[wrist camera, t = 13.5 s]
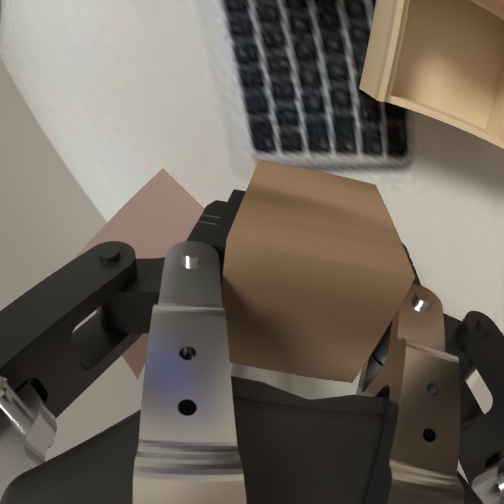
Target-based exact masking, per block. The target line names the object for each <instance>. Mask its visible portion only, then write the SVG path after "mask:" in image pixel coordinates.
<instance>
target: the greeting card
mask: <svg viewBox="0 0 504 504" xmlns="http://www.w3.org/2000/svg"><path fill="white" fill-rule="evenodd" d="M203 211H204V208H203V207H202V206H201V205H200V204H199V203H198V202H197V201H196V200H195V199H194V198H193V197H192V196H191V195H190V194H189V193H187V192H186V191H185V190H184V189H183V188H182V187H181V186H180V185H179V184H178V183H177V182H176V181H175V180H174V179H173V178H172V177H171V176H170V175H169V174H168V173H167V172H166V171H165V170H164V169H162V170H161V171H160V172H158V173H157V174H156V175H155V176H154V177H153V178H152V179H151V180H150V181H149V182H148V183H147V184H146V185H145V186H144V187H143V188H142V189H141V190H140V191H138V192H137V193H136V194H135V195H134V196H133V197H132V198H131V199H130V200H129V201H128V202H127V203H126V204H125V205H124V206H123V207H122V208H121V209H120V210H119V211H118V212H117V213H116V215H115V216H114V217H113V218H112V219H111V220H110V221H109V222H108V223H107V224H106V225H105V226H104V227H103V228H102V229H101V230H100V231H99V233H98V234H97V235H96V236H95V237H94V238H93V239H92V240H91V241H90V242H89V243H88V244H87V245H86V247H85V248H84V249H83V250H82V251H81V252H80V253H79V255H78V256H80V255H81V254H83V253H84V252H86V251H88V250H89V249H91V248H92V247H94V246H96V245H98V244H100V243H103V242H108V241H120V242H124V243H127V244H129V245H130V246H131V247H133V249H134V250H135V254H136V259H138V258H162V257H165V256H166V252H167V251H168V249H169V248H170V247H172V246H173V245H175V244H177V243H180V242H185V241H186V240H187V238H188V236H189V235H190V233H191V231H192V230H193V228H194V226H195V224H196V223H197V222H198V219H199V218H200V216H201V215H202V213H203ZM78 256H77V257H78ZM77 257H76V258H77ZM95 312H96V313H97V309H96V310H95ZM148 339H149V334H142V335H141V337H140V338H139V339H138V340H137V341H136V342H135V343H134V344H133V345H131V346H130V347H129V348H128V349H127V350H126V351H125V352H124V353H123V354H122V357H123V359H124V360H125V362H126V363H127V365H128V366H129V368H130V369H131V371H132V372H133V374H134V375H135V377H136V378H137V379H138V378H139V376H140V373H141V371H142V369H143V367H144V364H145V362H146V355H147V346H148Z"/></svg>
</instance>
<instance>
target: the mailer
mask: <svg viewBox="0 0 504 504" xmlns="http://www.w3.org/2000/svg"><path fill="white" fill-rule="evenodd" d="M359 89H361V90H362V91H364V92H365V93H367V94H368V95H370V96H371V97H373V98H374V99H376V100H377V101H381V102H384V101H385V102H388V103H391V104H394V105H398V106H401V107H404V108H407V109H410V110H412V111H415V112H418V113H421V114H424V115H426V116H429V117H432V118H435V119H437V120H440V121H442V122H445V123H447V124H450V125H452V126H455V127H457V128H459V129H462V130H464V131H466V132H469V133H471V134H473V135H476V136H478V137H480V138H482V139H484V140H486V141H489V142H491V143H493V144H495V145H497V146H499V147H501V148H503V149H504V20H503V19H502V18H500V17H498V16H497V15H495V14H493V13H492V12H490V11H488V10H486V9H485V8H483V7H481V6H479V5H477V4H475V3H474V2H472V1H470V0H376V5H375V11H374V17H373V22H372V28H371V33H370V39H369V44H368V49H367V54H366V59H365V64H364V69H363V73H362V78H361V83H360V87H359Z"/></svg>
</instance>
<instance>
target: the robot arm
mask: <svg viewBox="0 0 504 504" xmlns="http://www.w3.org/2000/svg"><path fill="white" fill-rule="evenodd" d="M245 193H246V191H241V190H235V189H234V190H233V192H232V194H231V196H230V198H229V200H228V202H224V201H218V200H216V201H214V202H212V203H211V204H209V205H207V206H206V208H205V209H204V211H203V213H202V215H201V216H200V218H199V219H198V222H197V223H196V224H195V226H194V228H193V230H192V231H191V233H190V235H189V236H188V238H187V240H186V241H185V242H180V243H177V244H175V245H173V246H172V247H170V248H169V249H168V251H167V252H166V256H165V257H162V258H138V259H136V254H135V250H134V249H133V247H131V246H130V245H129V244H127V243H124V242H120V241H108V242H103V243H100V244H98V245H96V246H94V247H92V248H91V249H89V250H88V251H86V252H84V253H83V254H81V255H80V256H78V257H77V258H75V259H74V260H72V261H71V262H69V263H68V264H66V265H65V266H63V267H62V268H60V269H59V270H57V271H56V272H54V273H53V274H52V275H50V276H49V277H47V278H46V279H44V280H43V281H41V282H40V283H39V284H37V285H36V286H34V287H33V288H32V289H30V290H29V291H27V292H26V293H24V294H23V295H22V296H21V297H19V298H18V299H16V300H15V301H14V302H12V303H11V304H10V305H8V306H7V307H5V308H4V309H3V310H1V311H0V495H1V497H2V498H1V500H0V504H504V336H503V334H502V333H501V331H500V330H499V328H498V327H497V326H496V324H495V323H494V322H493V321H492V320H491V319H490V318H489V317H488V316H486V315H485V314H483V313H481V312H478V311H470V312H468V313H467V314H466V316H465V317H464V319H463V320H462V321H460V320H458V319H455V318H453V317H451V316H448V315H446V314H444V313H443V307H442V304H441V301H440V300H439V298H438V297H437V296H436V295H435V294H434V293H433V292H432V291H430V290H429V289H427V288H425V287H423V286H421V284H420V281H419V278H418V276H417V273H416V271H415V268H414V266H413V263H412V261H411V258H409V257H410V256H409V253H408V251H407V248H406V247H405V245H404V244H403V243H402V245H403V247H404V250H405V252H406V255H407V257H408V260H409V262H410V265H411V267H412V270H413V273H414V275H415V279H414V281H413V283H412V285H411V287H410V288H409V290H408V292H407V294H406V296H405V298H404V300H403V301H402V303H401V305H400V307H399V308H398V310H397V312H396V314H395V316H394V317H393V319H392V321H391V322H390V324H389V326H388V327H387V329H386V331H385V333H384V334H383V336H382V337H381V339H380V341H379V342H378V344H377V346H376V347H375V349H374V350H373V352H372V353H371V355H370V357H369V358H368V360H367V361H366V363H365V364H364V366H363V368H362V372H361V376H360V381H359V385H358V389H357V393H356V395H348V396H341V397H332V398H324V399H314V400H309V399H305V398H302V397H299V396H297V395H294V384H295V375H294V374H288V373H282V372H276V371H270V370H265V369H260V368H255V367H250V366H245V365H240V364H235V363H230V361H229V349H228V336H227V323H226V311H225V307H222V300H221V286H222V277H223V267H224V258H225V249H226V240H227V237H228V234H229V232H230V229H231V227H232V224H233V222H234V219H235V217H236V215H237V212H238V210H239V207H240V205H241V202H242V200H243V198H244V195H245ZM96 309H97V313H96V314H95V315H94V316H92V317H91V318H90V319H89V320H88V321H86V322H85V323H84V324H83V325H82V326H80V327H79V328H78V329H77V330H76V331H74V332H73V330H74V328H75V327H76V326H77V325H78V324H79V323H80V322H81V321H83V320H84V319H85V318H86V317H88V316H89V315H90V314H91V313H92V312H94V311H95V310H96ZM72 332H73V333H72ZM142 334H149V339H148V346H147V355H146V363H145V372H144V382H143V392H142V403H141V409H140V410H139V411H137V412H135V413H134V414H132V415H130V416H129V417H127V418H125V419H123V420H122V421H120V422H118V423H117V424H115V425H113V426H111V427H110V428H108V429H106V430H104V431H103V432H101V433H99V434H97V435H95V436H94V437H92V438H90V439H88V440H86V441H84V442H83V443H81V444H79V445H77V446H75V447H73V448H71V449H69V450H68V451H66V452H64V453H62V454H60V455H58V456H56V457H54V458H52V459H50V460H48V461H46V462H44V458H45V454H46V451H47V449H48V448H50V447H51V446H52V445H53V442H54V438H55V435H56V430H57V424H56V418H57V417H58V416H59V415H60V414H61V413H62V412H63V411H64V410H65V409H66V408H67V407H68V406H69V405H70V404H71V403H72V402H73V401H74V400H75V399H76V398H77V397H78V396H79V395H80V394H81V393H82V392H84V390H86V389H87V388H88V387H89V386H90V385H91V384H92V383H93V382H94V381H95V380H96V379H97V378H98V377H99V376H100V375H101V374H102V373H103V372H104V371H105V370H106V369H107V368H108V367H109V366H110V365H112V363H114V362H115V361H116V360H117V359H118V358H119V357H120V356H121V355H122V354H123V353H124V352H125V351H126V350H127V349H128V348H129V347H130V346H131V345H133V344H134V343H135V342H136V341H137V340H138V339H139V338H140V337H141V335H142ZM476 369H477V370H478V372H479V374H480V375H481V377H482V379H483V380H484V382H485V384H486V385H487V387H488V389H489V391H490V392H491V394H492V397H493V404H492V407H491V409H490V410H489V412H487V413H486V414H484V413H483V412H482V410H481V408H480V406H479V405H478V403H477V401H476V399H475V397H474V396H473V394H472V392H471V390H470V388H469V387H468V385H467V383H466V380H467V379H468V378H469V377H470V376H471V374H472V373H473V372H474V371H475V370H476ZM458 459H459V461H460V464H461V466H462V469H463V471H464V473H465V475H466V478H467V480H468V483H469V484H468V483H467V482H466V480H465V479H464V478H463V477H462V475H460V473H459V472H458V471H457V468H458Z"/></svg>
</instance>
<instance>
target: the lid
mask: <svg viewBox="0 0 504 504" xmlns="http://www.w3.org/2000/svg"><path fill="white" fill-rule="evenodd" d="M470 1H472V2H474V3H475V4H477V5H479V6H481V7H483V8H485V9H486V10H488V11H490V12H492V13H493V14H495V15H497V16H498V17H500V18H502V19H503V20H504V0H470Z"/></svg>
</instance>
